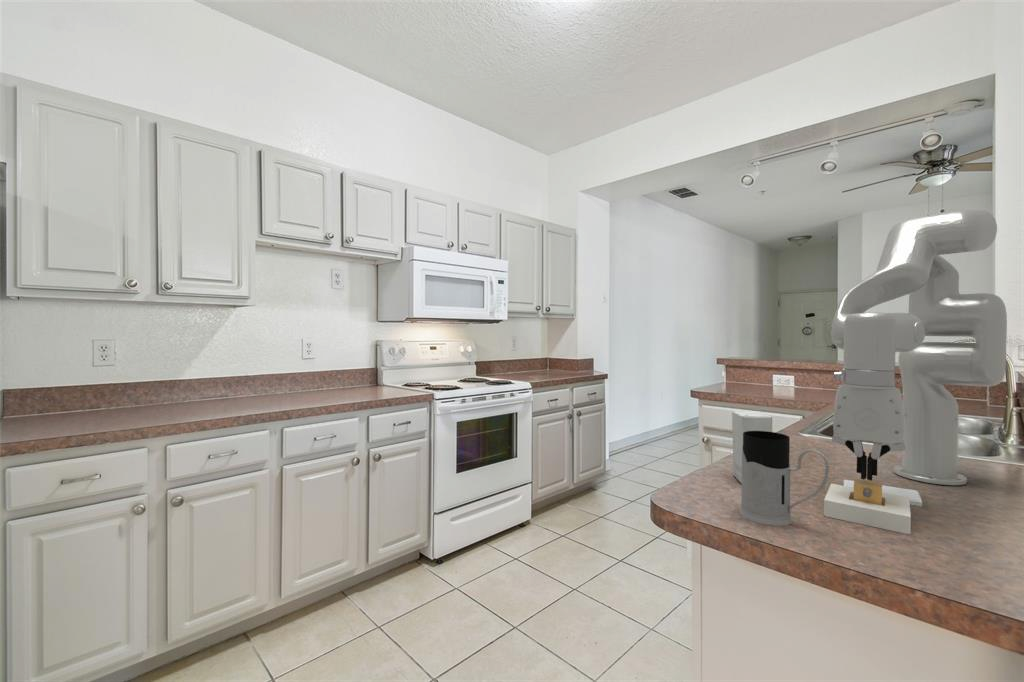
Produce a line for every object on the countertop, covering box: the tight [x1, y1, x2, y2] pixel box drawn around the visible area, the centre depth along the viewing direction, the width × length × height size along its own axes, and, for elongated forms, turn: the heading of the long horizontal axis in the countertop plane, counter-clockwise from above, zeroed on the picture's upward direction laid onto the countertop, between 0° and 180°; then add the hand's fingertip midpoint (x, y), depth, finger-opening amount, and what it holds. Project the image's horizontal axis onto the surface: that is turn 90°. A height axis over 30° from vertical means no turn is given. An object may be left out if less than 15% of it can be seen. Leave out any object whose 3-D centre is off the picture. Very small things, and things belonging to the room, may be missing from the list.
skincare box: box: [731, 410, 773, 485], centre depth 103 cm, size 8×7×16 cm
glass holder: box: [738, 431, 830, 527], centre depth 82 cm, size 9×14×15 cm, turn 41°
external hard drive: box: [843, 479, 923, 508], centre depth 95 cm, size 2×8×12 cm
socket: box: [823, 482, 912, 535], centre depth 84 cm, size 12×12×3 cm
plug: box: [853, 477, 883, 505], centre depth 83 cm, size 6×4×6 cm
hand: (866, 477), depth 84 cm, fingers closed
